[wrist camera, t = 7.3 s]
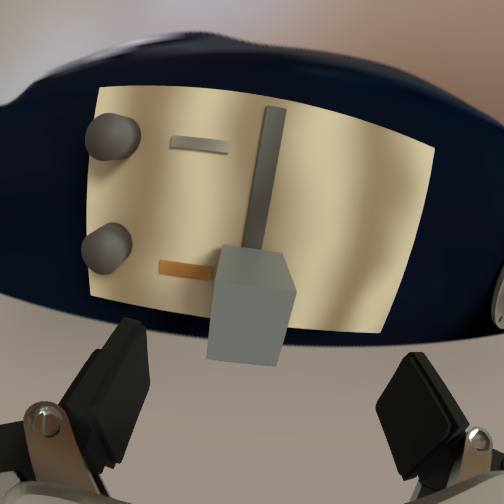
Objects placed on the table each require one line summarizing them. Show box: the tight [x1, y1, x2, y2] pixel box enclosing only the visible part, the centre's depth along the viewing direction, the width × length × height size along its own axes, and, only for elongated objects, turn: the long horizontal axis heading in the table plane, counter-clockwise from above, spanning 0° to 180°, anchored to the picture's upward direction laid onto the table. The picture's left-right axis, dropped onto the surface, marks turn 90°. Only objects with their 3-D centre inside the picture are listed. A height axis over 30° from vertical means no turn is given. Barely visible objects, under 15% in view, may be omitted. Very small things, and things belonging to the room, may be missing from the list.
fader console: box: [81, 86, 435, 333], centre depth 16 cm, size 20×13×6 cm, turn 81°
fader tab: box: [206, 244, 297, 366], centre depth 13 cm, size 3×4×4 cm
